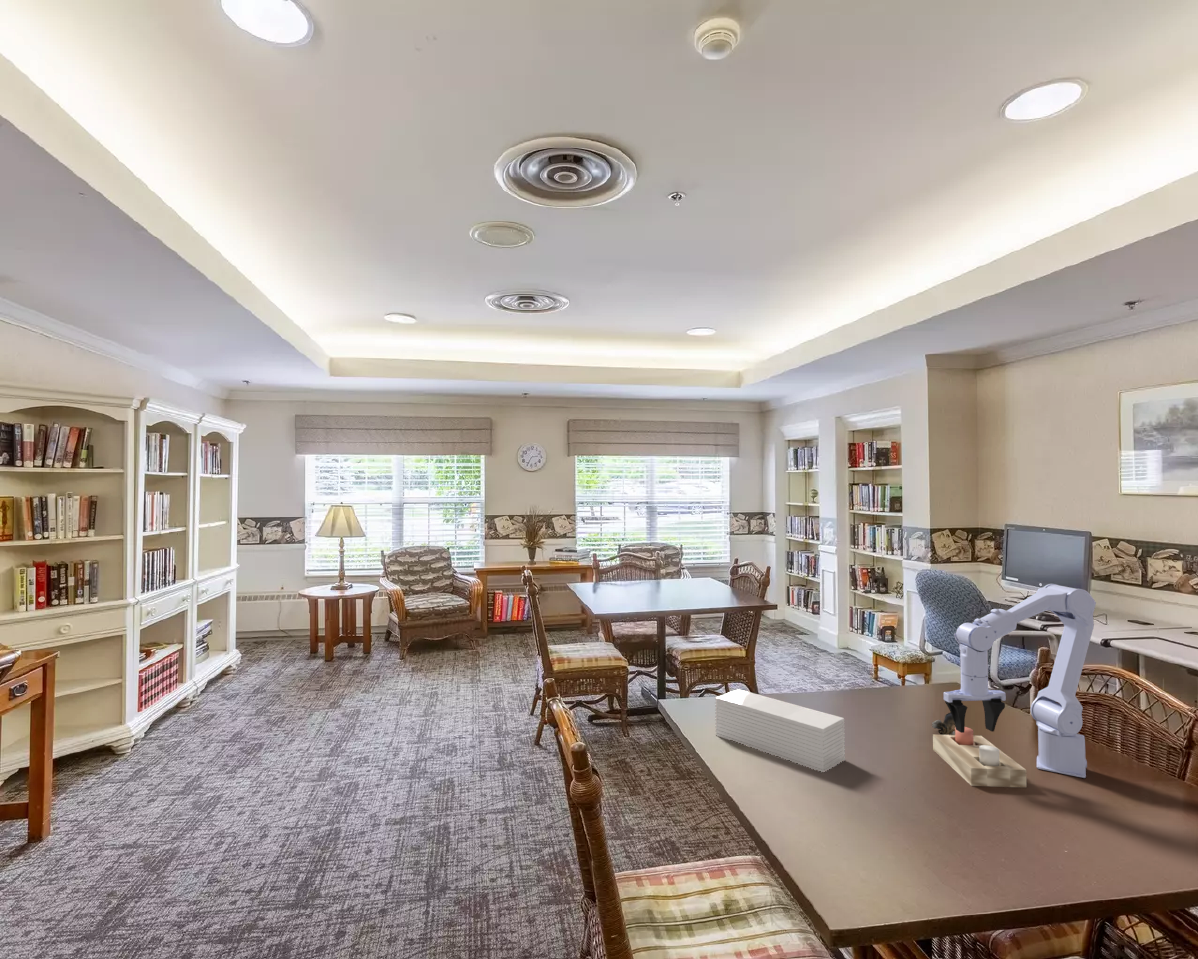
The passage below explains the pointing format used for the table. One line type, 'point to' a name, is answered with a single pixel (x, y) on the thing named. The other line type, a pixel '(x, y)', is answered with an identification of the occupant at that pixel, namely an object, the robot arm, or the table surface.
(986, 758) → the ivory plunger
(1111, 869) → the table surface
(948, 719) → the eagle figurine
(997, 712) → the robot arm
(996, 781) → the press housing
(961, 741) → the pink rounded plug
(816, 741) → the stack of papers
